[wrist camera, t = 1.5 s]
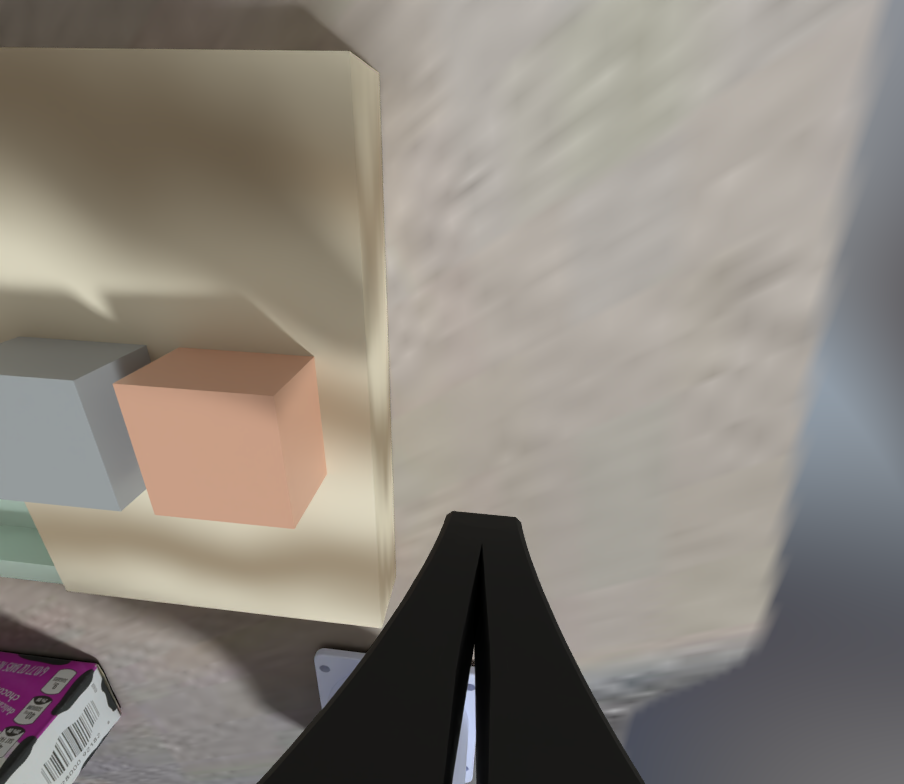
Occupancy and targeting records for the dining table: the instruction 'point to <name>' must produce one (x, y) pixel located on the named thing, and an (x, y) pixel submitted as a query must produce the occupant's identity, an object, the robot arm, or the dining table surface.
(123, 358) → the slate-grey block
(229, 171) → the birch plate
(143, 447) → the terracotta block
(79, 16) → the dining table surface
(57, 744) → the candy bar box
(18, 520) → the sage tray
